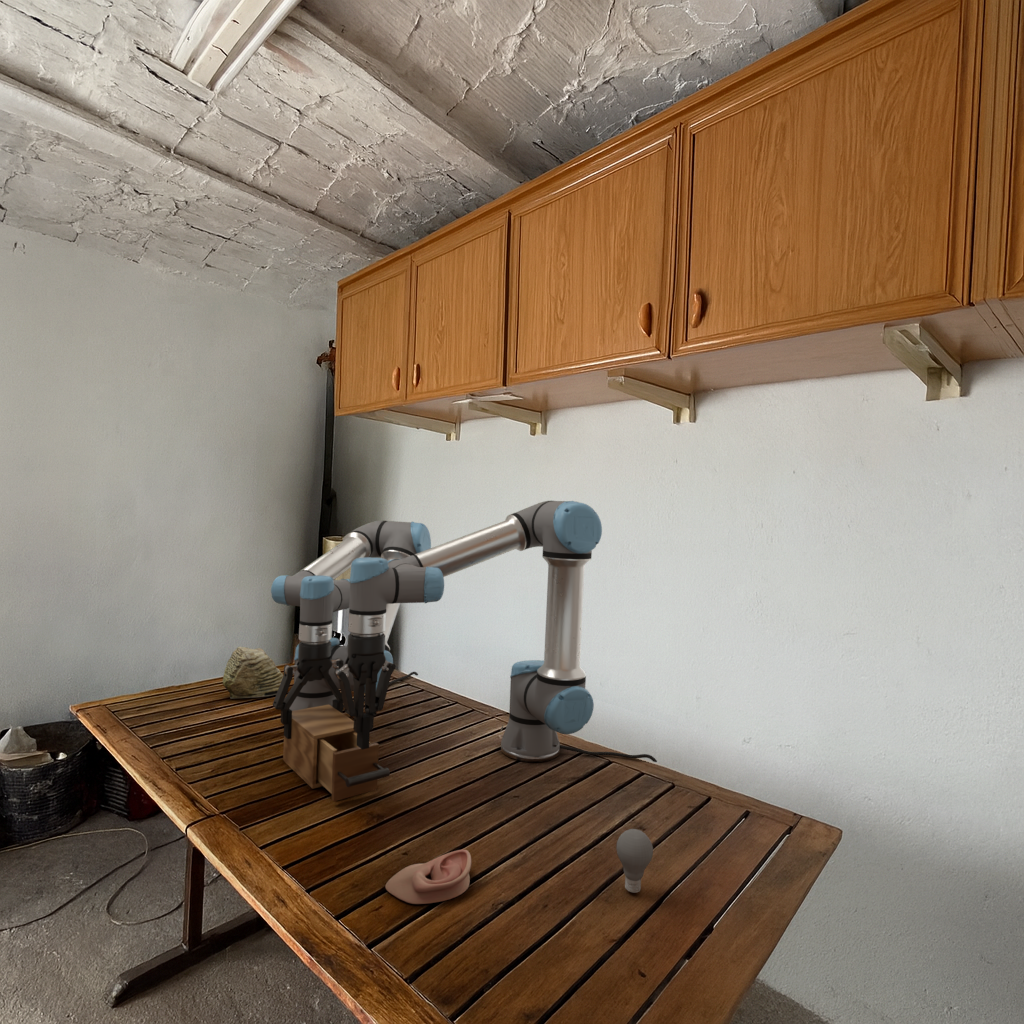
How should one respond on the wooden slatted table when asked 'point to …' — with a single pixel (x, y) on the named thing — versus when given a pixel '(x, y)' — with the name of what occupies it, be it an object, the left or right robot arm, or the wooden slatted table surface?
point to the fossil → (251, 674)
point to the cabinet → (312, 738)
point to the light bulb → (634, 857)
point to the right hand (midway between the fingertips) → (362, 746)
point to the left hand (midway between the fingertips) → (311, 732)
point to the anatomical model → (432, 879)
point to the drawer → (347, 766)
